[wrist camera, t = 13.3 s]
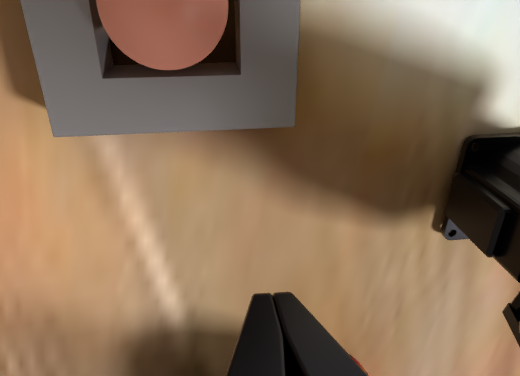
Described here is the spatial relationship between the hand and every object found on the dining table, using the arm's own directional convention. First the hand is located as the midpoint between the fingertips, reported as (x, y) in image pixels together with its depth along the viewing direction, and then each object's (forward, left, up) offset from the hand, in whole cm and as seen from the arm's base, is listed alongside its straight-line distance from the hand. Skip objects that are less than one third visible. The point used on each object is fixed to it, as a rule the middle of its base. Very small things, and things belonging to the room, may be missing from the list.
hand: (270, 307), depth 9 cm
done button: (+2, -5, -12) cm, 13 cm away
